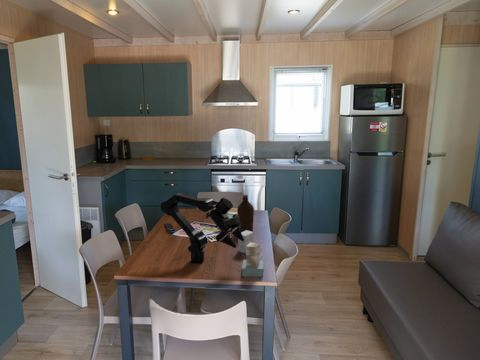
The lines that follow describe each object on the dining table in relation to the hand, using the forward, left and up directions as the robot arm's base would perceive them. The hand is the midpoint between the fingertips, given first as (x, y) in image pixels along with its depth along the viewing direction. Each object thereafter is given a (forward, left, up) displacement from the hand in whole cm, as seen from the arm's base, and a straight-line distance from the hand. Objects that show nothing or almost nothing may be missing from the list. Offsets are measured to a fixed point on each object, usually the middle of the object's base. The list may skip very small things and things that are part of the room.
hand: (239, 244), depth 168 cm
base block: (+7, -2, -13) cm, 15 cm away
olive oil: (0, +54, -13) cm, 56 cm away
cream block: (+7, -2, -9) cm, 12 cm away
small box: (+2, +24, -13) cm, 28 cm away
